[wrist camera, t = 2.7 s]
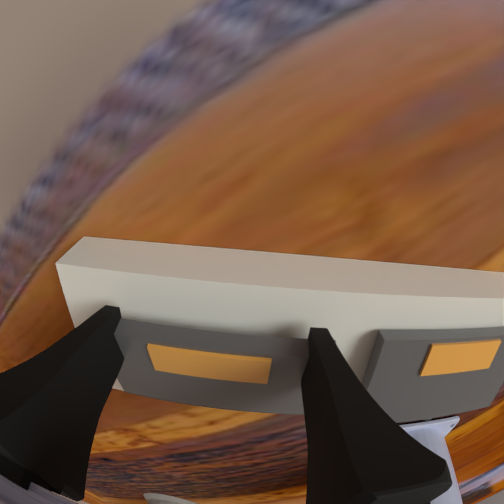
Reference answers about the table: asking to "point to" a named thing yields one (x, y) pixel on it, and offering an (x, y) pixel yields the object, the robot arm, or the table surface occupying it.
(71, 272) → the rocker switch panel
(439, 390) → the rocker
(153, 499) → the french press
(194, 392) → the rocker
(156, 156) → the table surface
